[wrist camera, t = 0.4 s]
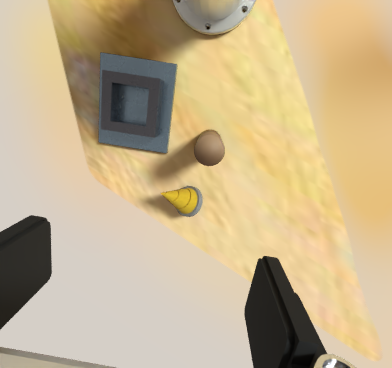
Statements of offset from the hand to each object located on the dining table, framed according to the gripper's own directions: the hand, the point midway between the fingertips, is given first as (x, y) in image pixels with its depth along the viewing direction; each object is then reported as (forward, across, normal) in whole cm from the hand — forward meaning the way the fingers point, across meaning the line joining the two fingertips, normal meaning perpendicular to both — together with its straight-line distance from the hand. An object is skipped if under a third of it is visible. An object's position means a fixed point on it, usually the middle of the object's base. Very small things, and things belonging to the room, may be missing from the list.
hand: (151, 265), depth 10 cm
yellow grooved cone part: (+32, +1, +8) cm, 33 cm away
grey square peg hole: (+31, +11, -6) cm, 34 cm away
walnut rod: (+32, -2, -2) cm, 32 cm away
